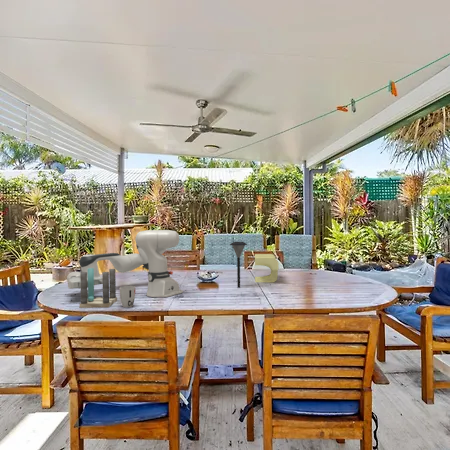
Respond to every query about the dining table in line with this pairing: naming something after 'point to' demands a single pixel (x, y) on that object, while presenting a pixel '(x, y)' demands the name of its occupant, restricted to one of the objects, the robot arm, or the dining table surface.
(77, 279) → the robot arm
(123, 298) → the cup
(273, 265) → the yellow curved hook shape
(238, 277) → the solar garden light
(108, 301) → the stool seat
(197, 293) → the dining table surface
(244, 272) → the dining table surface
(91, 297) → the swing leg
